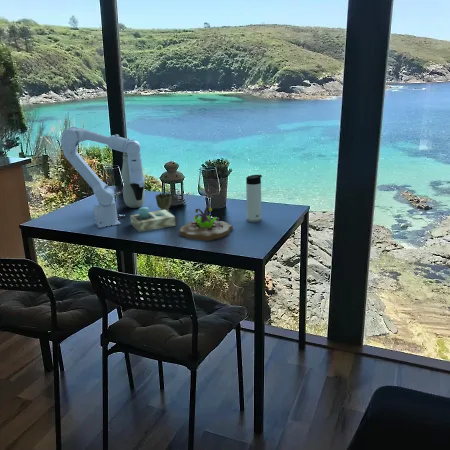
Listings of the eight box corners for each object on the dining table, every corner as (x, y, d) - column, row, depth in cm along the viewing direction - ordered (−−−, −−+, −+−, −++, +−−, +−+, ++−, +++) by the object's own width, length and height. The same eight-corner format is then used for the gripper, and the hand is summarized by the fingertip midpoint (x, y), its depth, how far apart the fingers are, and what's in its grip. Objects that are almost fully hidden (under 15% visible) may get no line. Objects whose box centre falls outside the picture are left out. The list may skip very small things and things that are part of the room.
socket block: (139, 232, 200) (138, 222, 198) (131, 224, 210) (130, 214, 209) (175, 225, 206) (174, 216, 205) (165, 217, 217) (165, 209, 215)
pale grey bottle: (121, 209, 231) (114, 151, 222) (131, 203, 240) (125, 147, 231) (140, 211, 228) (134, 152, 219) (149, 204, 237) (144, 148, 228)
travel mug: (261, 222, 206) (260, 176, 199) (245, 222, 207) (244, 176, 201) (263, 218, 212) (262, 173, 205) (248, 217, 213) (247, 173, 206)
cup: (174, 208, 229) (172, 192, 227) (170, 213, 223) (169, 196, 220) (158, 209, 230) (157, 192, 228) (155, 213, 223) (153, 197, 221)
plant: (211, 244, 185) (210, 216, 181) (172, 236, 195) (170, 209, 192) (239, 229, 200) (238, 203, 197) (201, 222, 211) (200, 197, 207)
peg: (141, 218, 203) (140, 210, 202) (138, 216, 206) (137, 207, 205) (150, 217, 205) (149, 208, 203) (147, 214, 208) (146, 206, 207)
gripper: (150, 170, 201) (153, 202, 205) (139, 165, 213) (142, 194, 218) (133, 173, 198) (137, 205, 202) (123, 167, 210) (127, 197, 215)
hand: (139, 199), depth 210 cm, fingers closed
